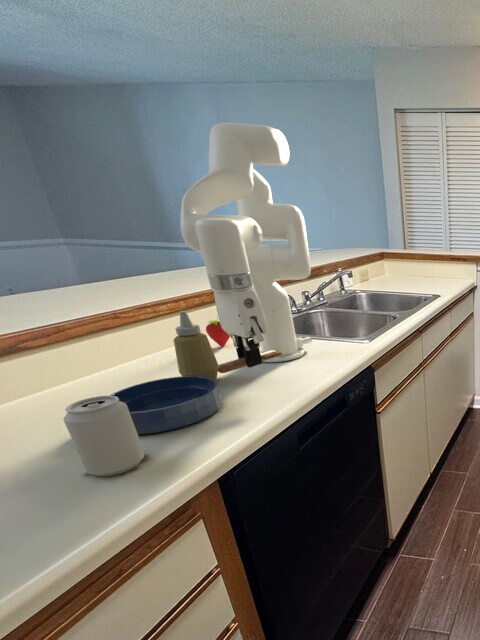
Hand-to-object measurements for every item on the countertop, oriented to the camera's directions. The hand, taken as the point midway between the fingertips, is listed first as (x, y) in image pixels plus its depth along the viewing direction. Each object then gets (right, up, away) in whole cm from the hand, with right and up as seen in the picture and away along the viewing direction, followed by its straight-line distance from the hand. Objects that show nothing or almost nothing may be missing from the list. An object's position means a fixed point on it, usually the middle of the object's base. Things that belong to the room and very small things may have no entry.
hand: (251, 363), depth 95 cm
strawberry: (-33, +7, +39) cm, 51 cm away
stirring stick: (0, 0, 0) cm, 0 cm away
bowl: (-14, -11, -5) cm, 19 cm away
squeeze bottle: (-19, -4, +11) cm, 22 cm away
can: (-8, -19, -23) cm, 31 cm away
